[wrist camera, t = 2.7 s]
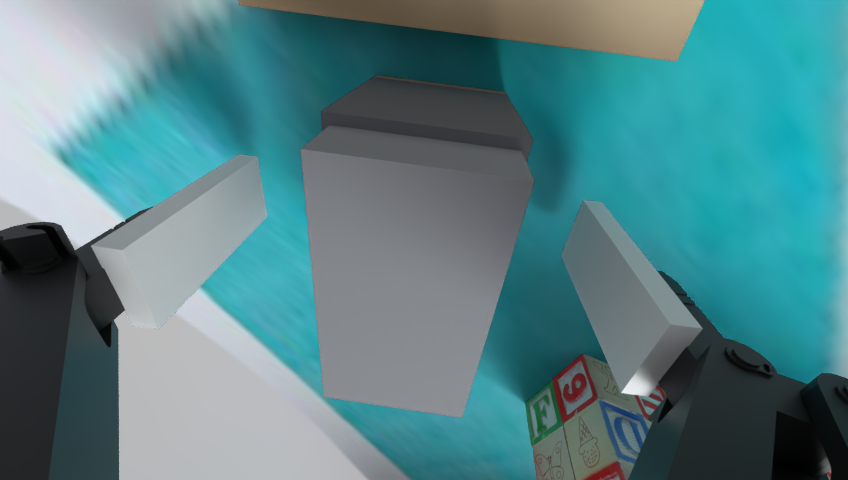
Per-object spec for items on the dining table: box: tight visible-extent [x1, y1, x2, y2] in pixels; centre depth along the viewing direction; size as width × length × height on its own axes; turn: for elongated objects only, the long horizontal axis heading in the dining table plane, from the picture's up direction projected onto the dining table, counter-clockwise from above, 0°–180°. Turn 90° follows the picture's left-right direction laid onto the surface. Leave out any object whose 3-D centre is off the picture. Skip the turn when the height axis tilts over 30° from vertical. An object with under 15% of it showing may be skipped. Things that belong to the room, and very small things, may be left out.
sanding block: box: [300, 75, 535, 418], centre depth 12 cm, size 9×5×8 cm, turn 174°
